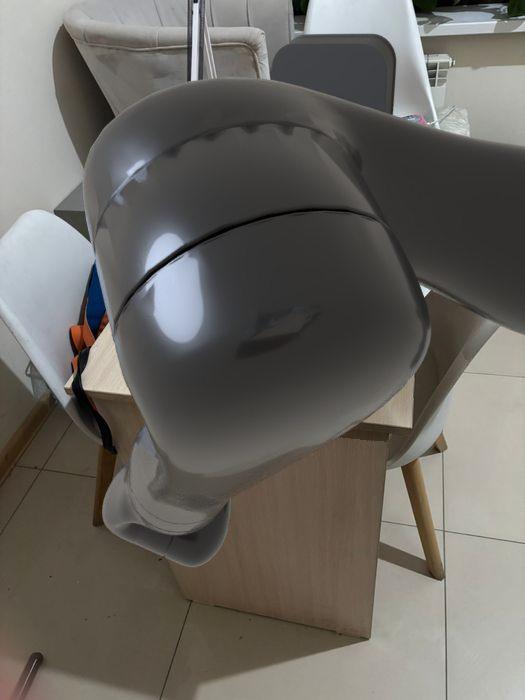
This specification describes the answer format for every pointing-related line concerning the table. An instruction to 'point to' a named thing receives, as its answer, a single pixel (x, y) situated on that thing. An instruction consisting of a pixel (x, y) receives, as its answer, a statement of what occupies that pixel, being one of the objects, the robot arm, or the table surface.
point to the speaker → (341, 67)
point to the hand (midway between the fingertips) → (275, 278)
